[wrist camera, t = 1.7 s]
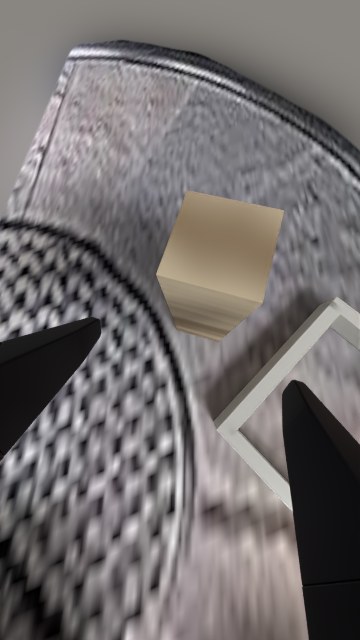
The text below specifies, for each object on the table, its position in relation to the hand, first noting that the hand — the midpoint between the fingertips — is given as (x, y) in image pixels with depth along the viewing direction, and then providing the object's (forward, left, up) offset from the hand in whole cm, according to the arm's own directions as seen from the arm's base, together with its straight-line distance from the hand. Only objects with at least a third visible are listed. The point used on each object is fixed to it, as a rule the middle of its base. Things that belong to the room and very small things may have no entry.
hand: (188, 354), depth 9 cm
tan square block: (+3, +3, -12) cm, 13 cm away
